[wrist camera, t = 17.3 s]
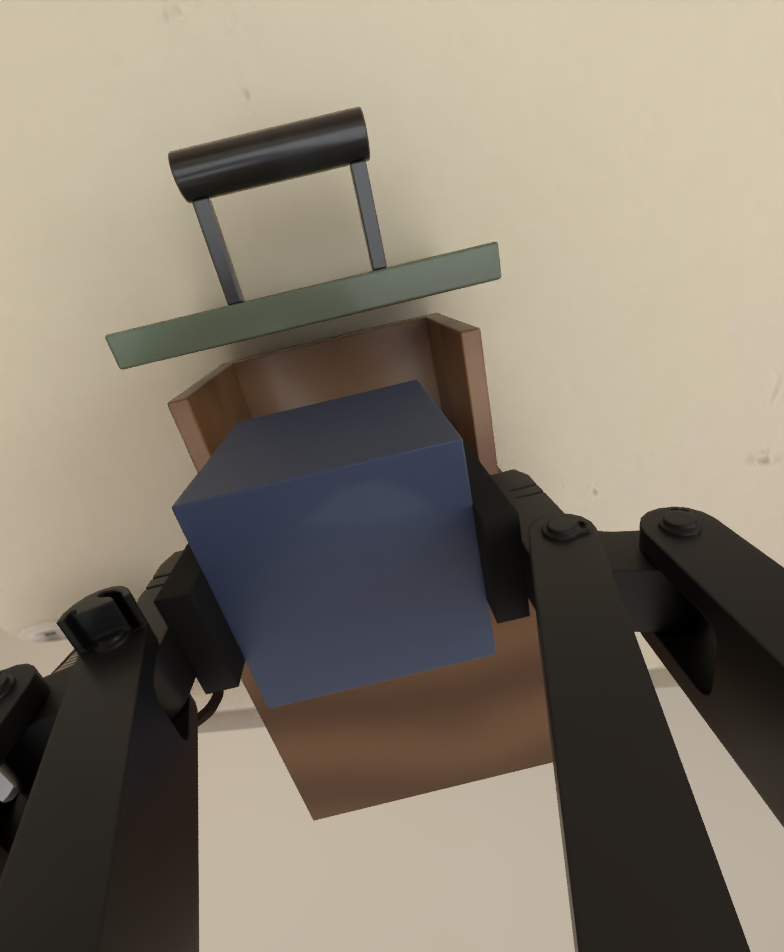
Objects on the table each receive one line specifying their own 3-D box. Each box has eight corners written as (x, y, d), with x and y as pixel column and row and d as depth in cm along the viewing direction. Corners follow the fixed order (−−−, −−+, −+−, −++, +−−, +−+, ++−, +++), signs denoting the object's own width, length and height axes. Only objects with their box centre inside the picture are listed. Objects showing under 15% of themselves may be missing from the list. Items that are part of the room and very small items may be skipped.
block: (237, 421, 14) (170, 507, 9) (417, 378, 14) (462, 437, 9) (292, 570, 17) (267, 709, 11) (447, 533, 17) (497, 654, 11)
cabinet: (253, 495, 29) (205, 610, 19) (477, 440, 29) (549, 527, 19) (321, 667, 35) (313, 820, 25) (503, 623, 35) (566, 759, 25)
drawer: (142, 199, 21) (13, 149, 13) (425, 132, 21) (478, 38, 13) (277, 545, 29) (252, 648, 21) (479, 496, 29) (532, 580, 21)
